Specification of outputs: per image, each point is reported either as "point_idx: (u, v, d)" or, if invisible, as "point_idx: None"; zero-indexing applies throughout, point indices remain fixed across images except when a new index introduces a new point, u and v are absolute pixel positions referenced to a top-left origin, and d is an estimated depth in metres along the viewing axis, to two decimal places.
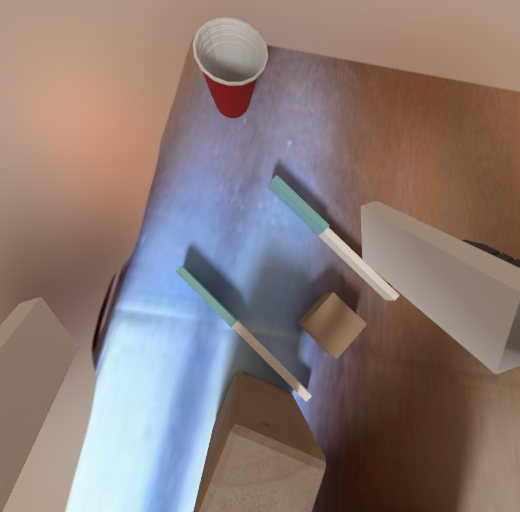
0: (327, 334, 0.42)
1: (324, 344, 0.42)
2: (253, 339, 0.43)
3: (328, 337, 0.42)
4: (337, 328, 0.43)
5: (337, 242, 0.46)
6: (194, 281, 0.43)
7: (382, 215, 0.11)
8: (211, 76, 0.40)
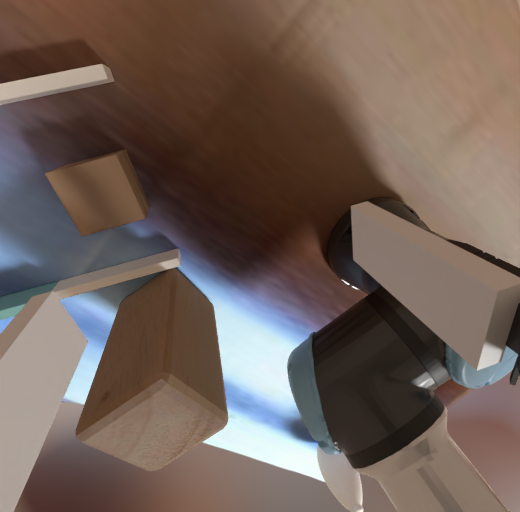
0: (107, 213, 0.30)
1: (119, 223, 0.31)
2: (82, 286, 0.35)
3: (111, 213, 0.30)
4: (104, 196, 0.30)
5: None
6: None
7: (370, 215, 0.11)
8: None
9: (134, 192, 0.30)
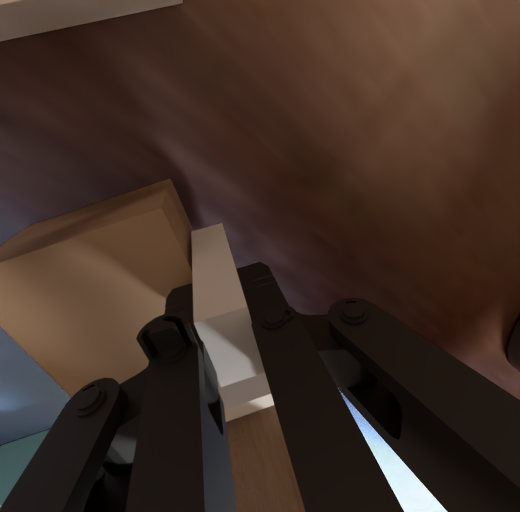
0: (138, 349, 0.12)
1: None
2: None
3: None
4: (130, 316, 0.11)
5: None
6: None
7: (210, 237, 0.12)
8: None
9: None
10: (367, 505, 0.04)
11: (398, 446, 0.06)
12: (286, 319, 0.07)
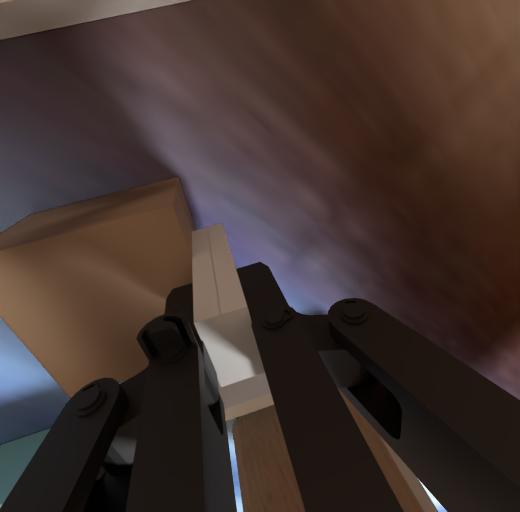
0: (136, 345, 0.12)
1: None
2: None
3: None
4: (131, 311, 0.11)
5: None
6: None
7: (210, 237, 0.12)
8: None
9: None
10: (367, 505, 0.04)
11: (398, 446, 0.06)
12: (286, 319, 0.07)
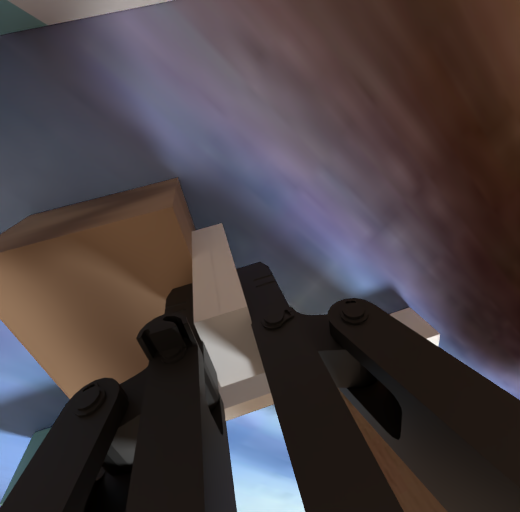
0: (135, 347, 0.12)
1: None
2: (268, 395, 0.18)
3: None
4: (131, 312, 0.11)
5: None
6: None
7: (210, 237, 0.12)
8: None
9: None
10: (367, 505, 0.04)
11: (399, 446, 0.06)
12: (286, 319, 0.07)
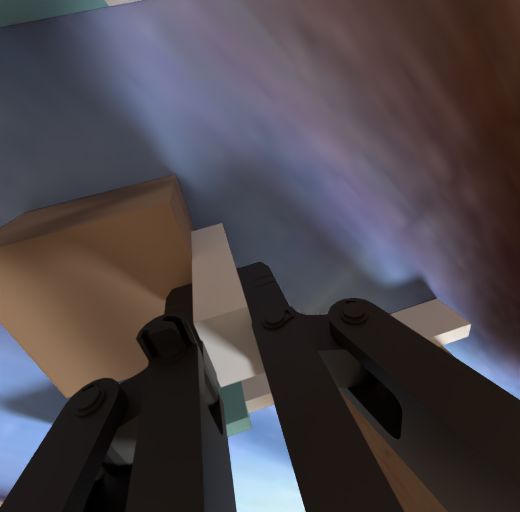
0: (133, 345, 0.12)
1: None
2: None
3: None
4: (128, 310, 0.11)
5: None
6: None
7: (210, 237, 0.12)
8: None
9: None
10: (367, 505, 0.04)
11: (399, 446, 0.06)
12: (286, 319, 0.07)
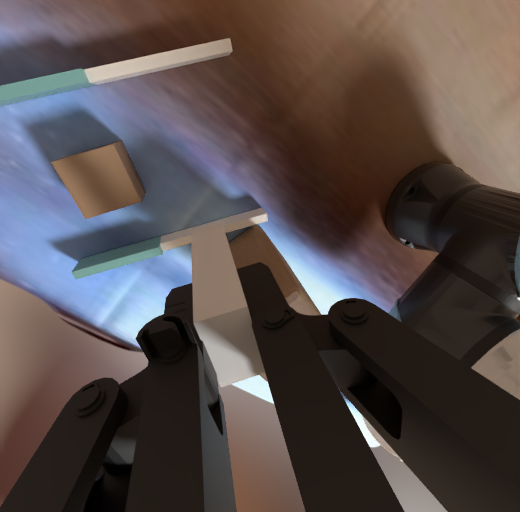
0: (107, 197, 0.34)
1: (118, 206, 0.35)
2: (186, 237, 0.41)
3: (111, 197, 0.34)
4: (104, 182, 0.33)
5: (114, 71, 0.30)
6: (95, 267, 0.38)
7: (210, 237, 0.12)
8: None
9: (130, 178, 0.34)
10: (367, 505, 0.04)
11: (398, 446, 0.06)
12: (286, 319, 0.07)
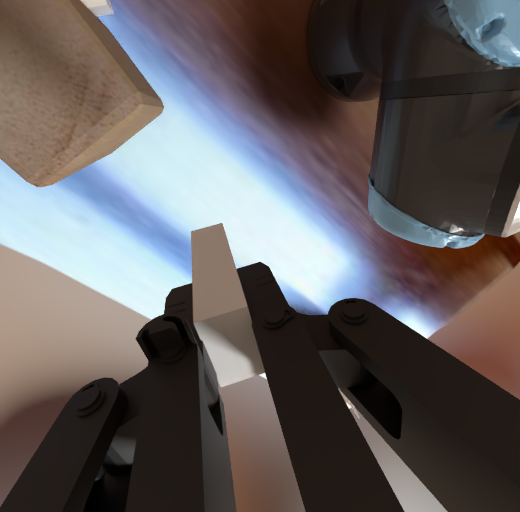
0: None
1: None
2: None
3: None
4: None
5: None
6: None
7: (210, 237, 0.12)
8: None
9: None
10: (367, 505, 0.04)
11: (399, 446, 0.06)
12: (286, 319, 0.07)
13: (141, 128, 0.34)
